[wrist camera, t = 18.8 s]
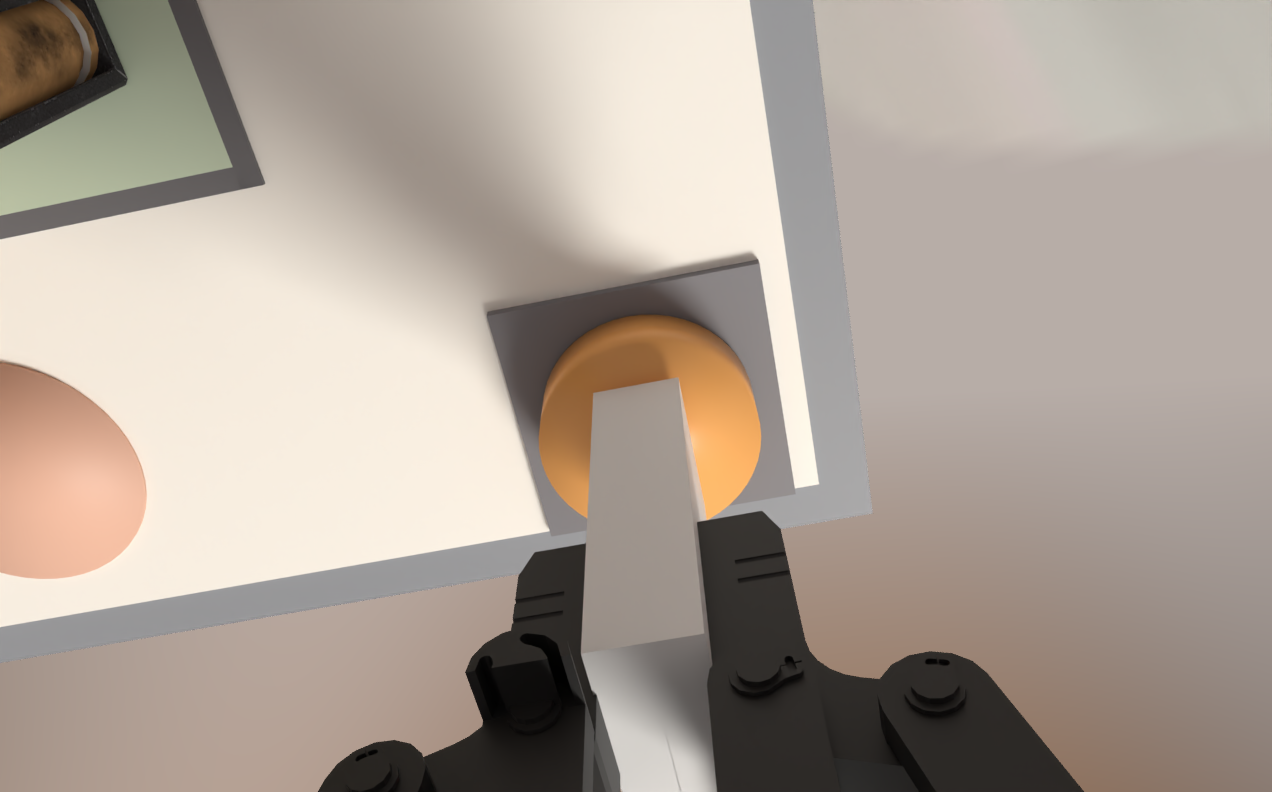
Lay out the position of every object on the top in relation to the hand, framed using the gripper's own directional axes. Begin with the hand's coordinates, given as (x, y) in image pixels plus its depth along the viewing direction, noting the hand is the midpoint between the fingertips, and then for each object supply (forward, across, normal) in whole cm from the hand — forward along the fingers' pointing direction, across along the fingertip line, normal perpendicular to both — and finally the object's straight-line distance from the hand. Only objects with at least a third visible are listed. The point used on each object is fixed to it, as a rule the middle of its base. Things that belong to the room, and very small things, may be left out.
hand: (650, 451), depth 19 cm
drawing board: (+3, -8, +4) cm, 10 cm away
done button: (+2, 0, 0) cm, 2 cm away
